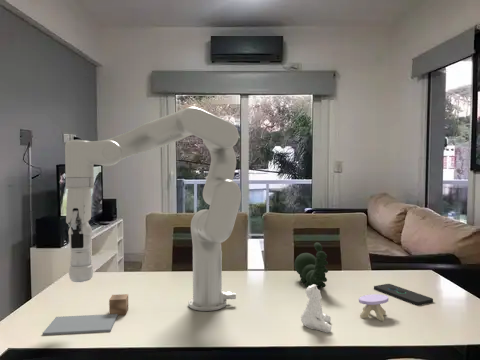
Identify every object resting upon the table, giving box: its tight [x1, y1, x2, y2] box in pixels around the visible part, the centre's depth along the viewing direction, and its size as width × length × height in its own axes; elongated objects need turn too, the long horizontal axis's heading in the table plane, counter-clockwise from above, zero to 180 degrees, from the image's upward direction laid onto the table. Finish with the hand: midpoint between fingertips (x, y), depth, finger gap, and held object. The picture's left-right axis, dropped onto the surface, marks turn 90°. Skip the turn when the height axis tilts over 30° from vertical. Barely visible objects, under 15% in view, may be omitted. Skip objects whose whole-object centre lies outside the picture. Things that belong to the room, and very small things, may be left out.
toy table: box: [358, 293, 389, 322], centre depth 126 cm, size 10×9×6 cm
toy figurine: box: [293, 242, 329, 289], centre depth 159 cm, size 9×19×25 cm
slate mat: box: [42, 313, 119, 336], centre depth 119 cm, size 18×12×1 cm, turn 98°
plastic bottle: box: [68, 221, 94, 283], centre depth 118 cm, size 6×7×20 cm
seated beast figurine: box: [300, 284, 332, 334], centre depth 118 cm, size 10×9×12 cm
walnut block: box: [108, 293, 129, 316], centre depth 129 cm, size 5×5×5 cm
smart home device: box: [373, 283, 434, 306], centre depth 146 cm, size 8×2×20 cm
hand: (80, 245), depth 118 cm, fingers closed on plastic bottle, 6 cm apart
